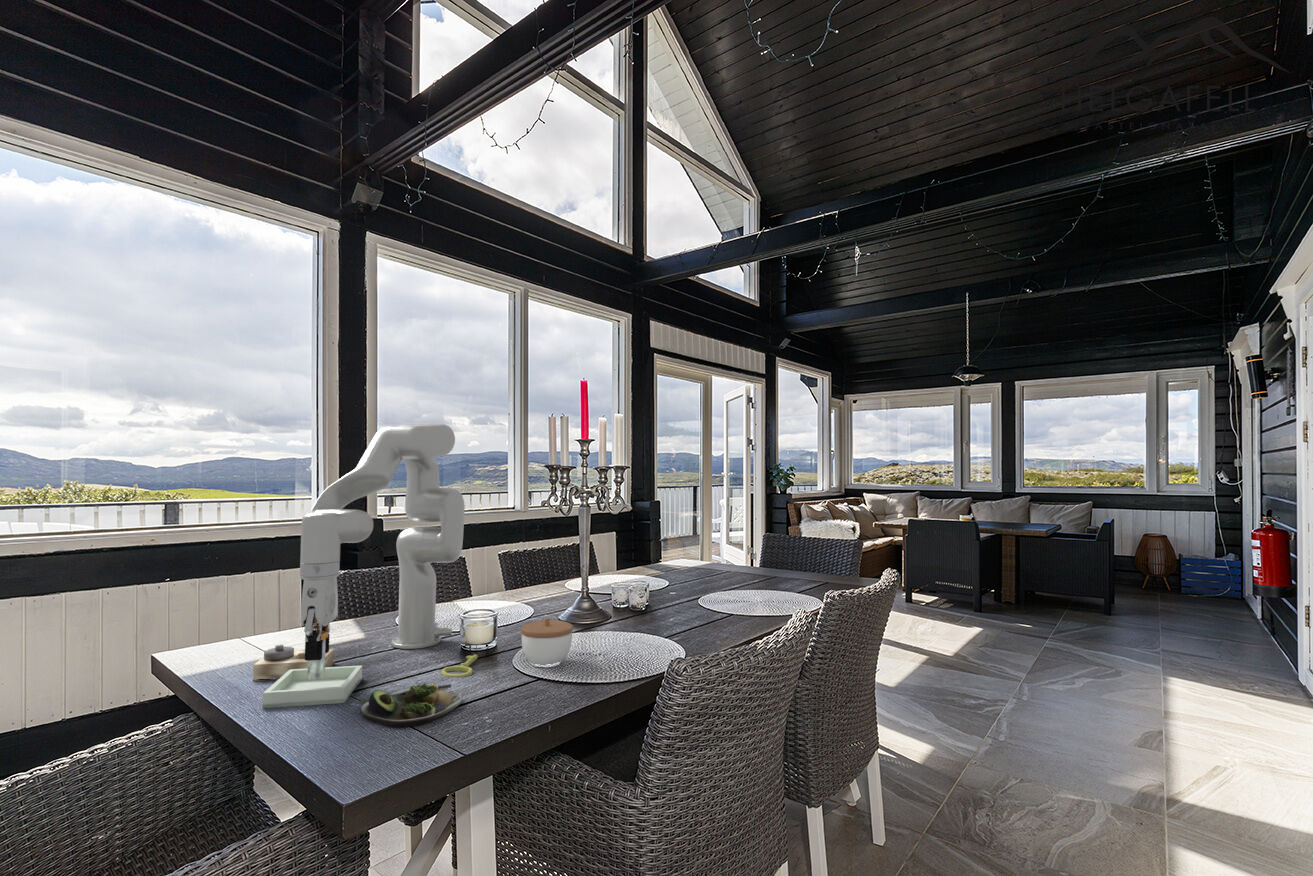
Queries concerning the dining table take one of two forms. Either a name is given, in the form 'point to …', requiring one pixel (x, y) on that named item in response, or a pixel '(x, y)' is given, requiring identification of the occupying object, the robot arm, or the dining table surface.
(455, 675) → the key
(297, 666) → the wooden holder
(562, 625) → the lidded bowl
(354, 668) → the tray
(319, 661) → the white jar gold lid
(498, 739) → the dining table surface
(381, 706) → the salad plate
